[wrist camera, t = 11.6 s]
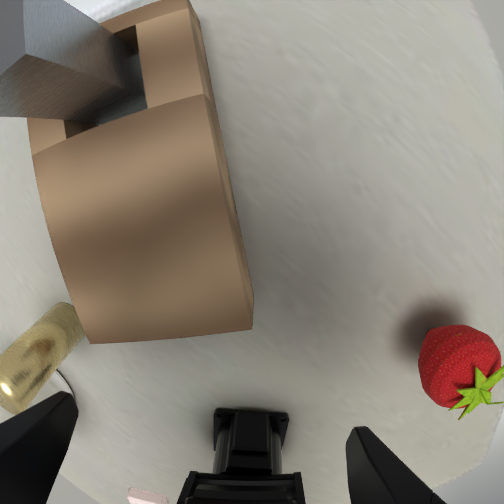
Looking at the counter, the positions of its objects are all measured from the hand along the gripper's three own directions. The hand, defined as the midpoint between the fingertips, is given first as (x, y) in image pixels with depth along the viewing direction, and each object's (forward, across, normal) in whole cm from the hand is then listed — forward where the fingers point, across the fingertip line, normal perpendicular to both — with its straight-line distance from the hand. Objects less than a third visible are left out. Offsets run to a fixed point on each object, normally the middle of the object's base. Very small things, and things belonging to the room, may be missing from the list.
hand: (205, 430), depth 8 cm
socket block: (+13, +6, -6) cm, 16 cm away
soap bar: (+14, +11, +39) cm, 43 cm away
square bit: (+13, +8, -12) cm, 19 cm away
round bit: (+13, +14, +6) cm, 20 cm away
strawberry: (+13, -16, +4) cm, 21 cm away
